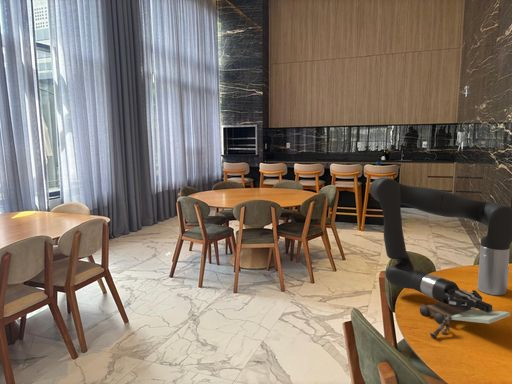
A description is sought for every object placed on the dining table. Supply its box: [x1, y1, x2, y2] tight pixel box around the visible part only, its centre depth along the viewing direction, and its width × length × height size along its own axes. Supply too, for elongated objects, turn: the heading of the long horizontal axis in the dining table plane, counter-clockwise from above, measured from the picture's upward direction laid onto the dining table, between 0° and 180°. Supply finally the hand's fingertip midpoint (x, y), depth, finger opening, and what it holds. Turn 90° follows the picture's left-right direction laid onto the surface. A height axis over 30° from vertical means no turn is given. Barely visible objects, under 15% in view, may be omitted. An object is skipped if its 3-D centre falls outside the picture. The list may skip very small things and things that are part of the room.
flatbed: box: [419, 301, 474, 325], centre depth 124 cm, size 14×10×3 cm
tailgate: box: [451, 308, 511, 325], centre depth 114 cm, size 10×1×12 cm
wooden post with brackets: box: [429, 318, 450, 340], centre depth 113 cm, size 2×8×4 cm, turn 122°
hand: (490, 309), depth 111 cm, fingers closed
